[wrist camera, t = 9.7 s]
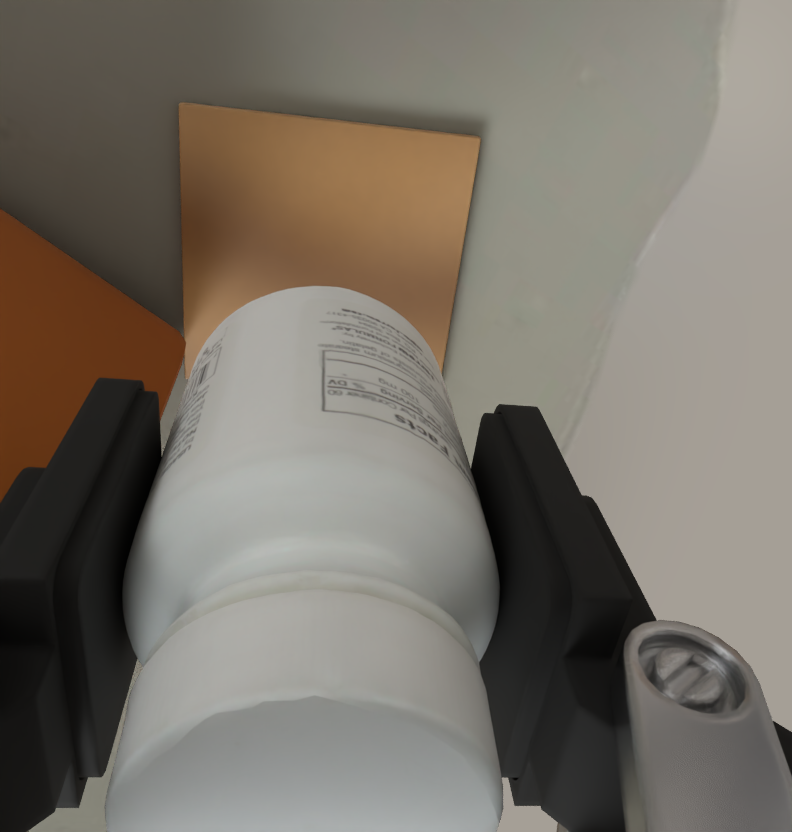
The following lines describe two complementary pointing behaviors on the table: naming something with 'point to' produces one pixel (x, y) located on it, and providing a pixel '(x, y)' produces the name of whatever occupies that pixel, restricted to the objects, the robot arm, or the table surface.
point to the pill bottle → (310, 590)
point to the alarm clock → (65, 346)
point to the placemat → (319, 214)
